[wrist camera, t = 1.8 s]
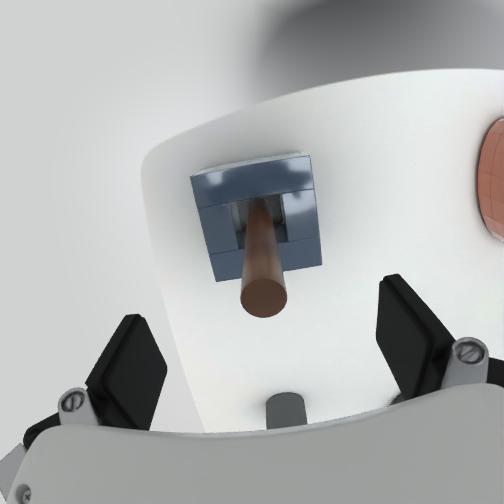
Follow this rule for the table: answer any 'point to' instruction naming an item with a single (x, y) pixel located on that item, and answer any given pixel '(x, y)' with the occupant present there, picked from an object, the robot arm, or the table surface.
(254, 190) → the holder
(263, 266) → the stick
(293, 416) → the bottle
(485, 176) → the bowl
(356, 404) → the table surface
